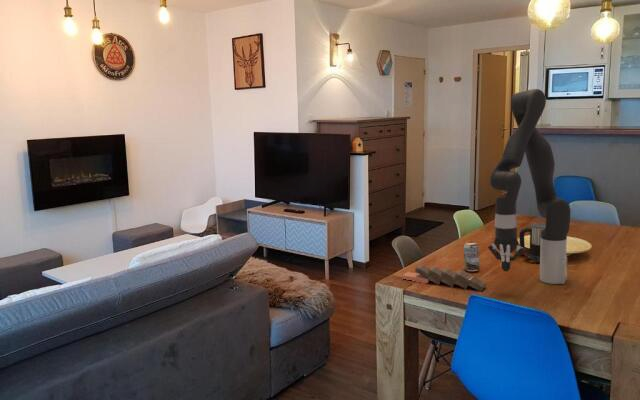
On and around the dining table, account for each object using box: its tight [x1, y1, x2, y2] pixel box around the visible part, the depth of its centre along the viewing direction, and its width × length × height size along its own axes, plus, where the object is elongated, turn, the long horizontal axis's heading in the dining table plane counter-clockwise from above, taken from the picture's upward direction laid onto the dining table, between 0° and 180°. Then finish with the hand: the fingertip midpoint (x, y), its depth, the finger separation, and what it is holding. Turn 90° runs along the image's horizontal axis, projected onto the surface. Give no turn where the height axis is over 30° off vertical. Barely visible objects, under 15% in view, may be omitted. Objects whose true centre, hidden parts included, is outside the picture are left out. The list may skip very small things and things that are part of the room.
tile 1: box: [454, 269, 487, 292], centre depth 197 cm, size 2×5×11 cm
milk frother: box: [518, 222, 546, 263], centre depth 228 cm, size 14×16×15 cm
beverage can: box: [463, 242, 480, 272], centre depth 217 cm, size 6×7×12 cm
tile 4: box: [414, 264, 443, 285], centre depth 206 cm, size 2×5×11 cm
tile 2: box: [441, 267, 470, 290], centre depth 200 cm, size 2×5×11 cm
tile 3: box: [428, 265, 456, 288], centre depth 203 cm, size 2×5×11 cm
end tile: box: [401, 271, 432, 284], centre depth 209 cm, size 2×5×11 cm
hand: (506, 270), depth 188 cm, fingers closed
